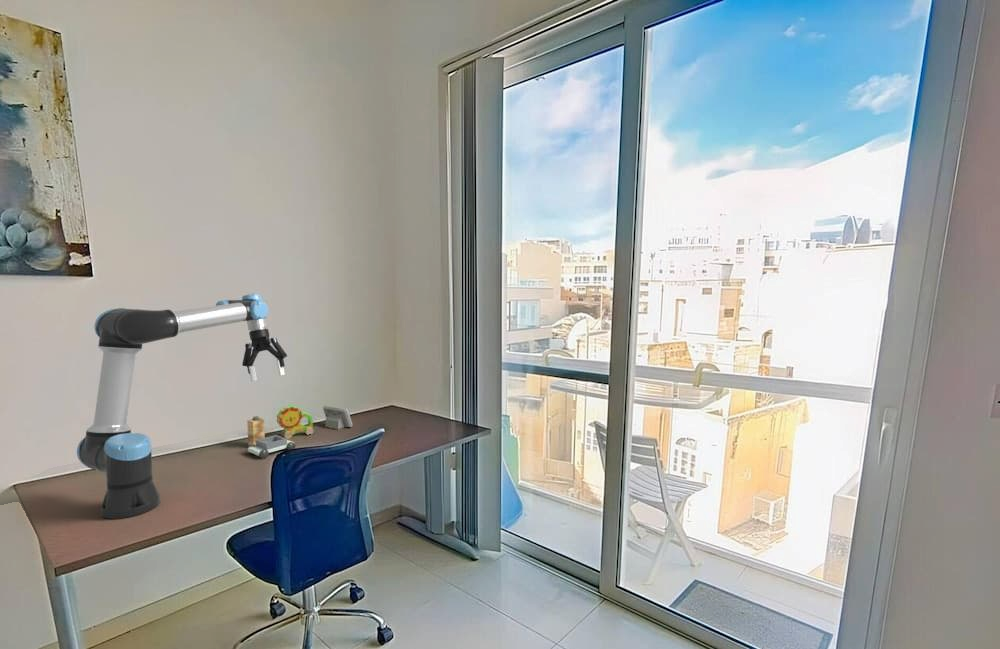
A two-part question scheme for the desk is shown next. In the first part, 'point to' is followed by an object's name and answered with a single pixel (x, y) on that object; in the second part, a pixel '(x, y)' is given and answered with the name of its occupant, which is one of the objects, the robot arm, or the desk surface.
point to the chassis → (270, 445)
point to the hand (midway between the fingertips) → (268, 378)
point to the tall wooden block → (255, 430)
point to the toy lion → (293, 421)
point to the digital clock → (337, 417)
